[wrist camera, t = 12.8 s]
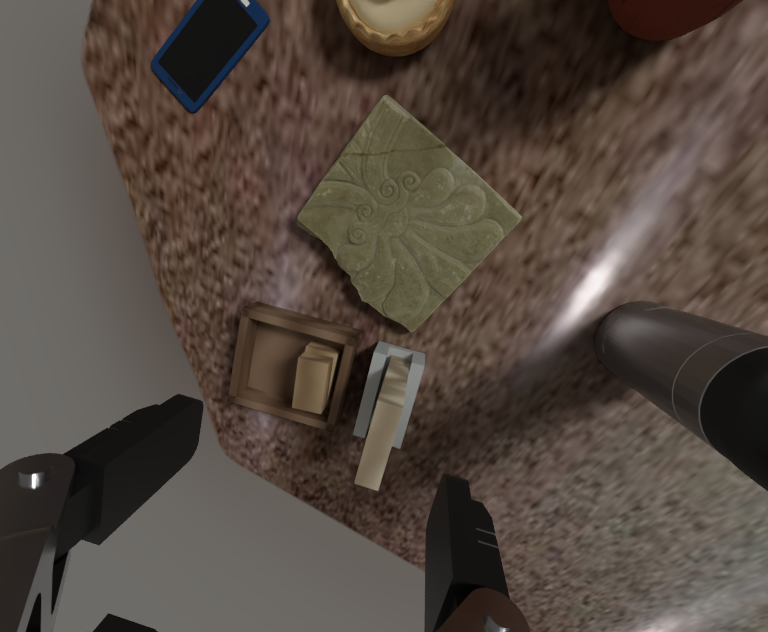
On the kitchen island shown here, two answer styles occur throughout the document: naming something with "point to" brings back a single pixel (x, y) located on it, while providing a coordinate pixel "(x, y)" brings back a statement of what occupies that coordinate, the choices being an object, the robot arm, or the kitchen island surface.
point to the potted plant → (666, 16)
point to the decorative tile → (405, 215)
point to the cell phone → (208, 47)
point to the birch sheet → (384, 424)
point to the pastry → (395, 23)
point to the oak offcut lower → (330, 352)
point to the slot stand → (376, 381)
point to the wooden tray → (286, 362)
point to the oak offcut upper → (312, 382)
